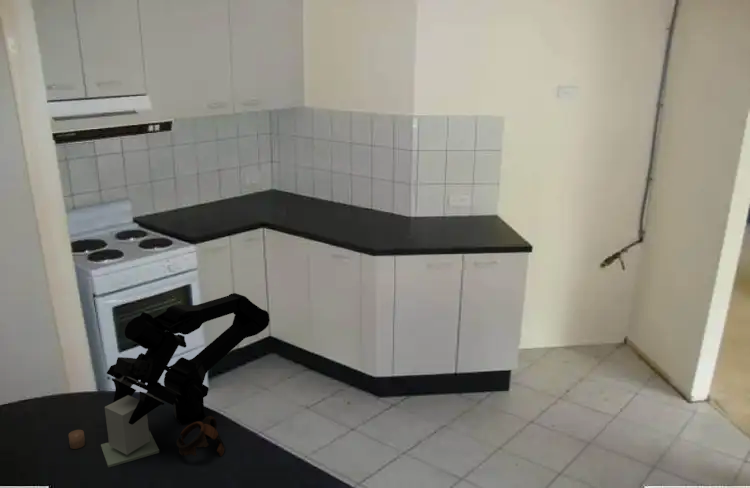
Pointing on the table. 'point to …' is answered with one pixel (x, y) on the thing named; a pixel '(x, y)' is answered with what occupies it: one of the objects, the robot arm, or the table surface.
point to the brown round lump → (76, 439)
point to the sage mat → (117, 457)
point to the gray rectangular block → (125, 426)
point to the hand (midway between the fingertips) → (121, 419)
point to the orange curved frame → (200, 437)
